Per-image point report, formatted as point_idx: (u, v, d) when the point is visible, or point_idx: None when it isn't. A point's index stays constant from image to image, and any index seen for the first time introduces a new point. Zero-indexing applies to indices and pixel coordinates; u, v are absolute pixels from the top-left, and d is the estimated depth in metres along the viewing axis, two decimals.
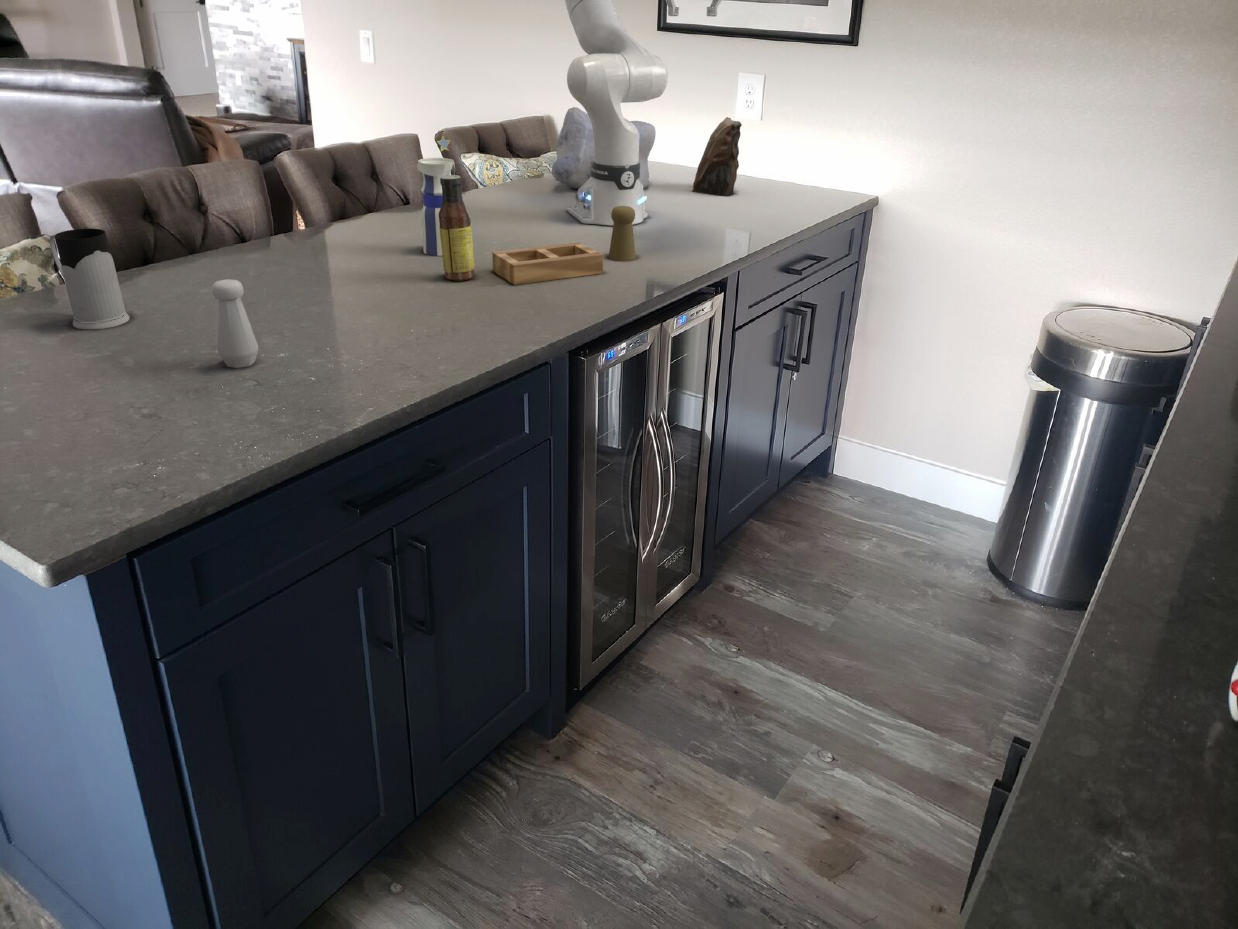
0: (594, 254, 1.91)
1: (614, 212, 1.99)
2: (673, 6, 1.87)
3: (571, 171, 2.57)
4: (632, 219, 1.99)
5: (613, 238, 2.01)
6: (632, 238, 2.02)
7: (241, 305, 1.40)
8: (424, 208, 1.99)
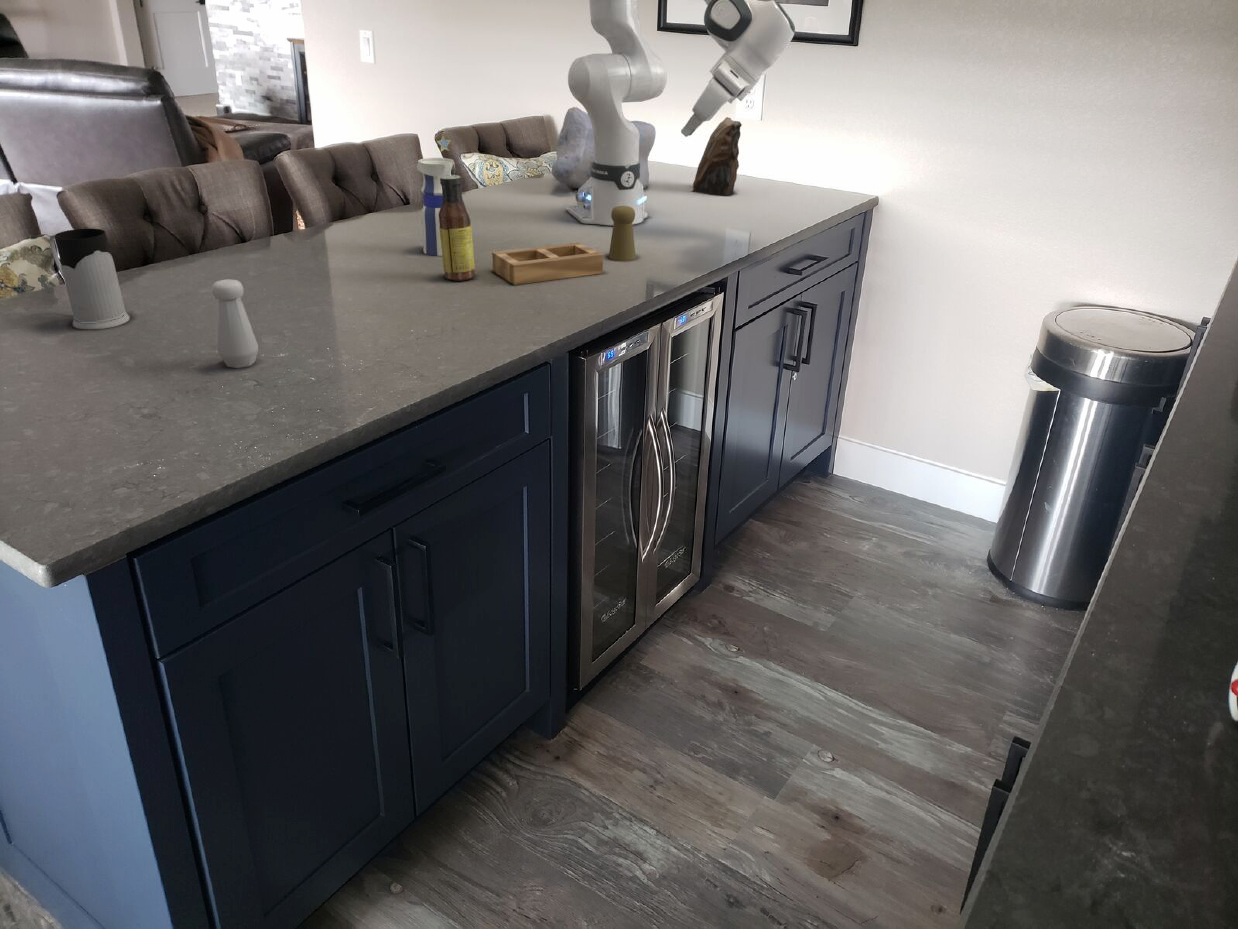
0: (594, 254, 1.91)
1: (614, 212, 1.99)
2: (692, 130, 1.88)
3: (571, 171, 2.57)
4: (632, 219, 1.99)
5: (613, 238, 2.01)
6: (632, 238, 2.02)
7: (241, 305, 1.40)
8: (424, 208, 1.99)
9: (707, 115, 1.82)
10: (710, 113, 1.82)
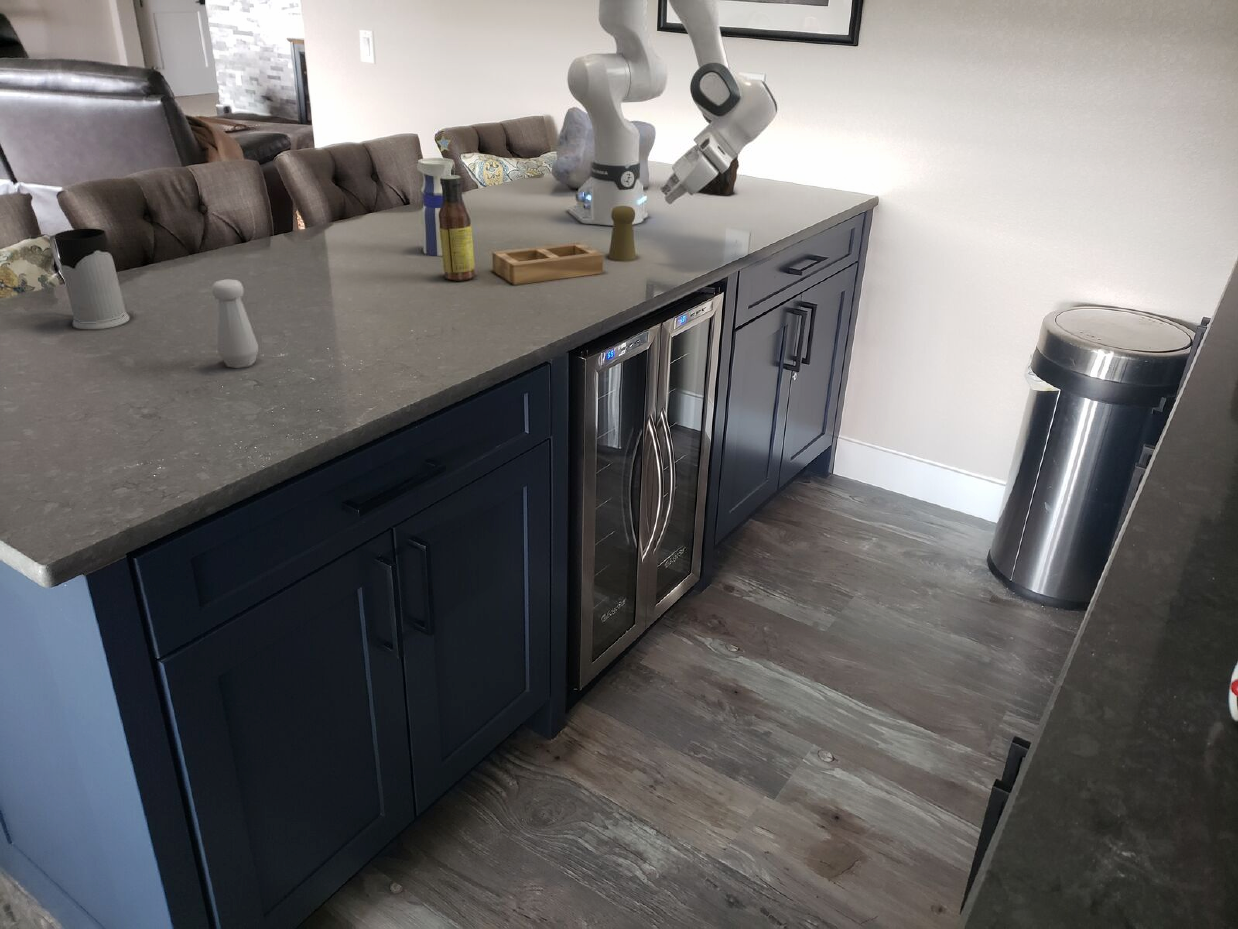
0: (594, 254, 1.91)
1: (614, 212, 1.99)
2: (676, 198, 1.94)
3: (571, 171, 2.57)
4: (632, 219, 1.99)
5: (613, 238, 2.01)
6: (632, 238, 2.02)
7: (241, 305, 1.40)
8: (424, 208, 1.99)
9: (695, 190, 1.89)
10: (698, 188, 1.89)
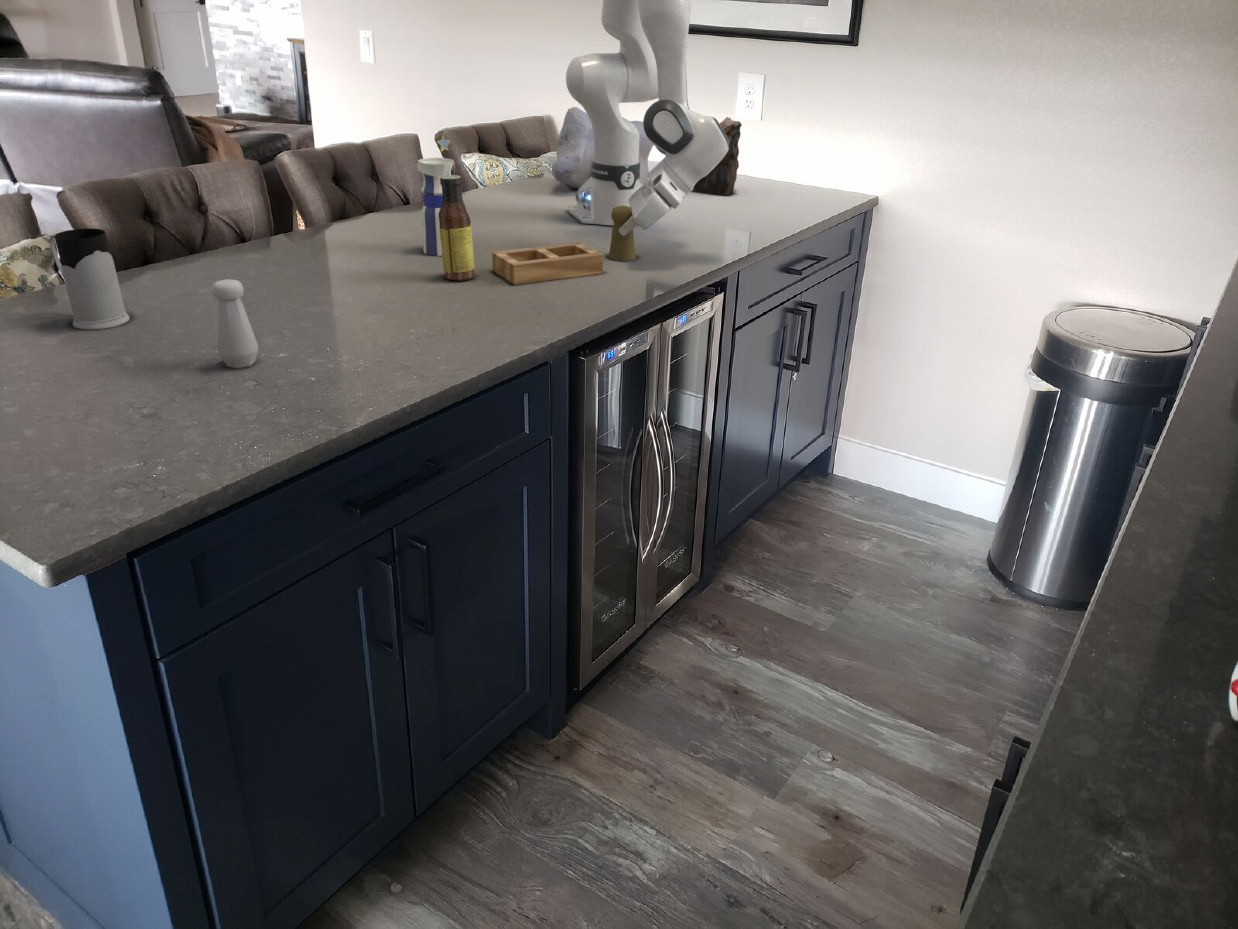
0: (594, 254, 1.91)
1: (614, 212, 1.99)
2: (629, 230, 1.99)
3: (571, 171, 2.57)
4: None
5: (613, 238, 2.01)
6: (632, 238, 2.02)
7: (241, 305, 1.40)
8: (424, 208, 1.99)
9: (648, 225, 1.92)
10: (650, 224, 1.92)
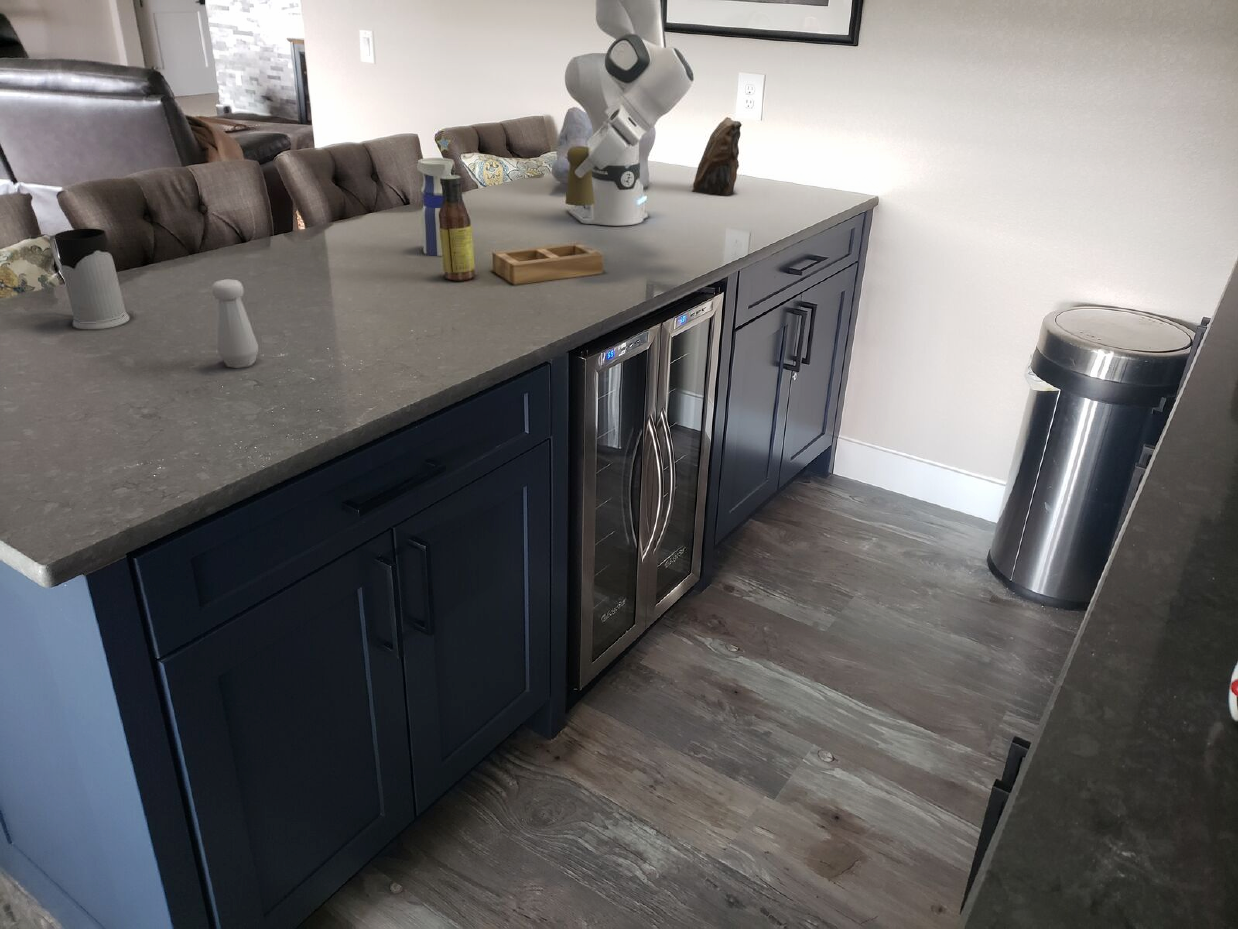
0: (594, 254, 1.91)
1: (570, 152, 1.85)
2: (586, 172, 1.85)
3: None
4: None
5: (569, 181, 1.87)
6: (590, 181, 1.88)
7: (241, 305, 1.40)
8: (424, 208, 1.99)
9: (604, 164, 1.78)
10: (607, 162, 1.77)
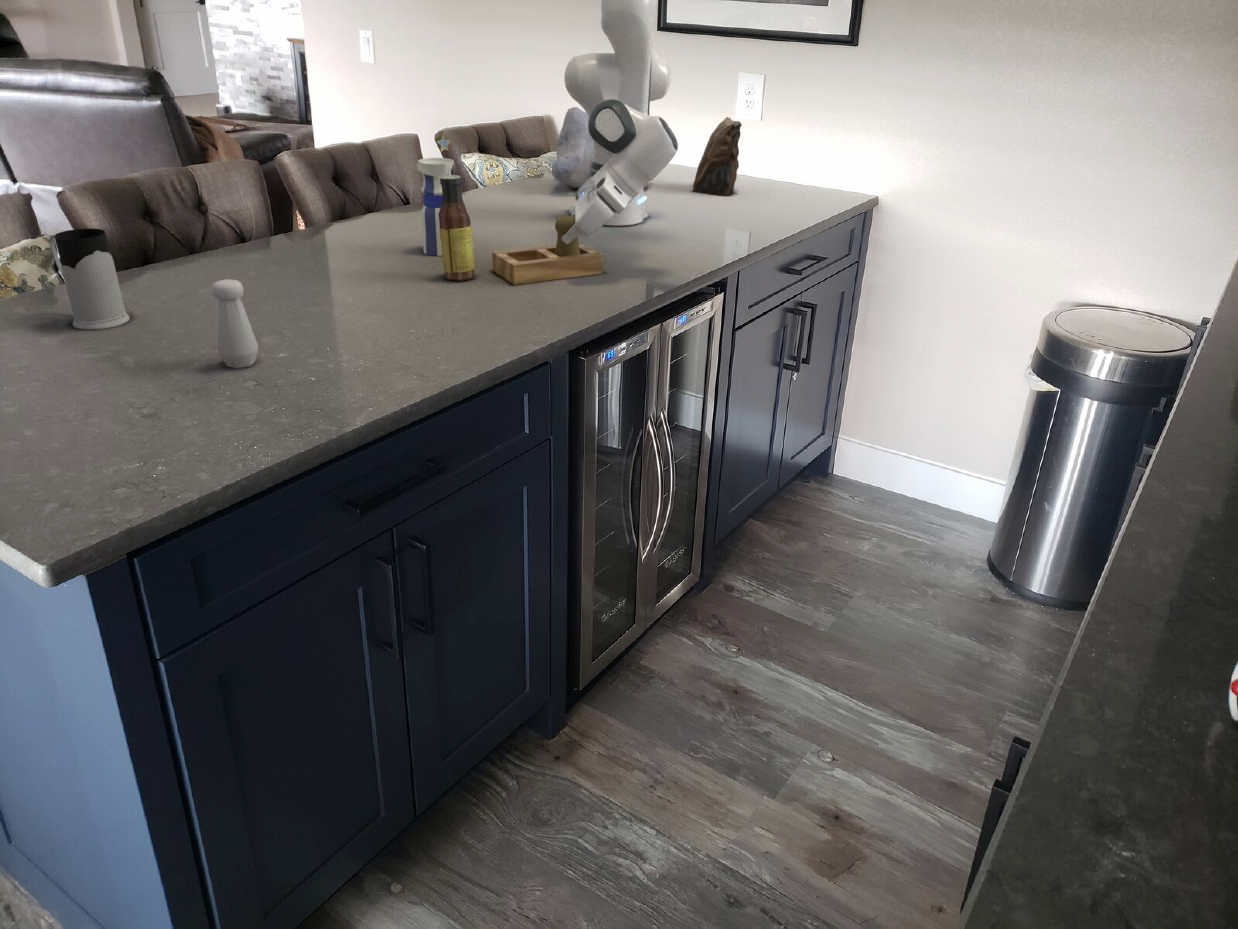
0: (594, 254, 1.91)
1: (558, 223, 1.89)
2: None
3: (571, 171, 2.57)
4: None
5: (557, 250, 1.91)
6: (578, 250, 1.92)
7: (241, 305, 1.40)
8: (424, 208, 1.99)
9: (590, 232, 1.81)
10: (593, 230, 1.81)
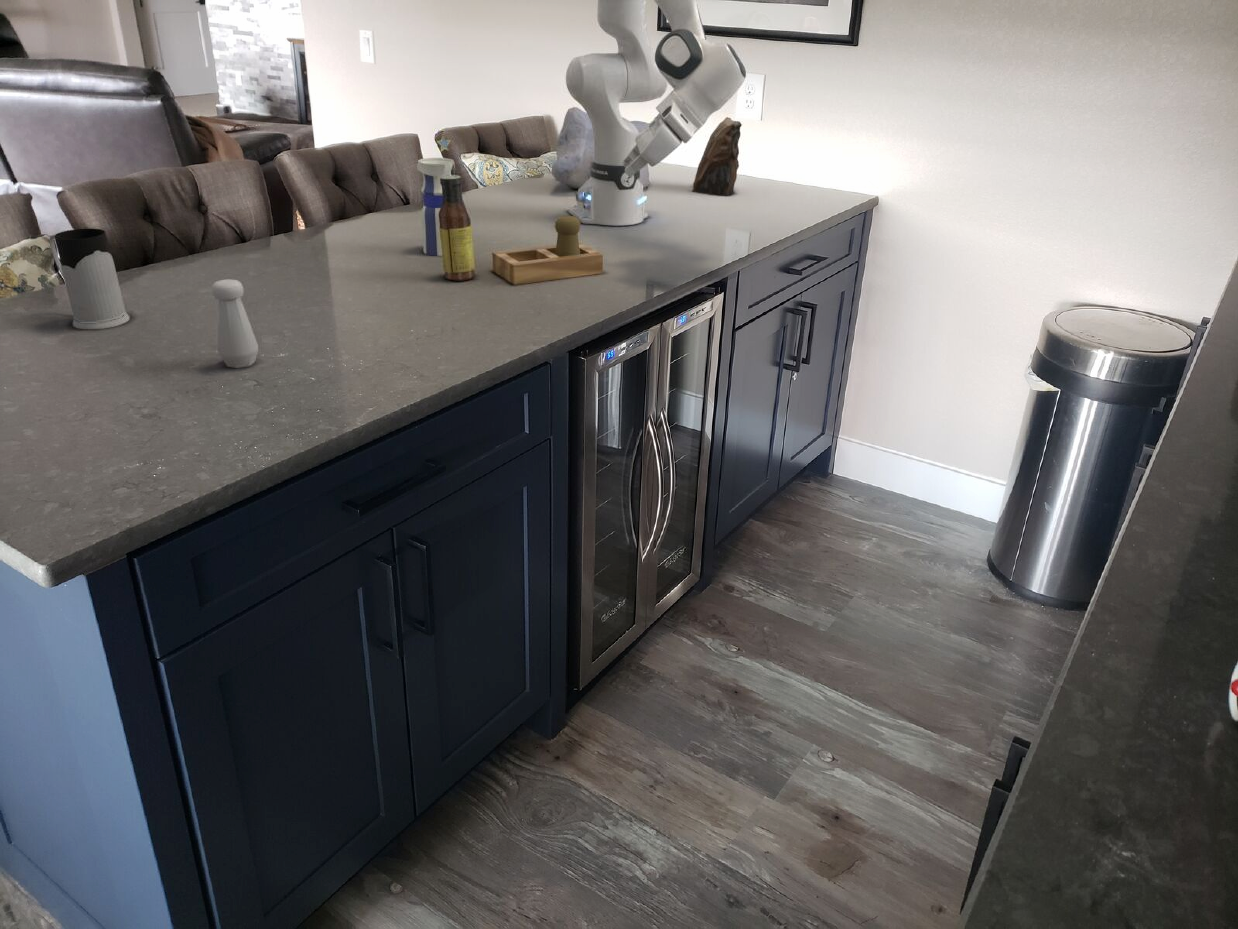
0: (594, 254, 1.91)
1: (558, 223, 1.89)
2: (636, 171, 1.81)
3: (571, 171, 2.57)
4: (577, 230, 1.90)
5: (557, 250, 1.91)
6: (578, 250, 1.92)
7: (241, 305, 1.40)
8: (424, 208, 1.99)
9: (656, 161, 1.76)
10: (659, 159, 1.76)
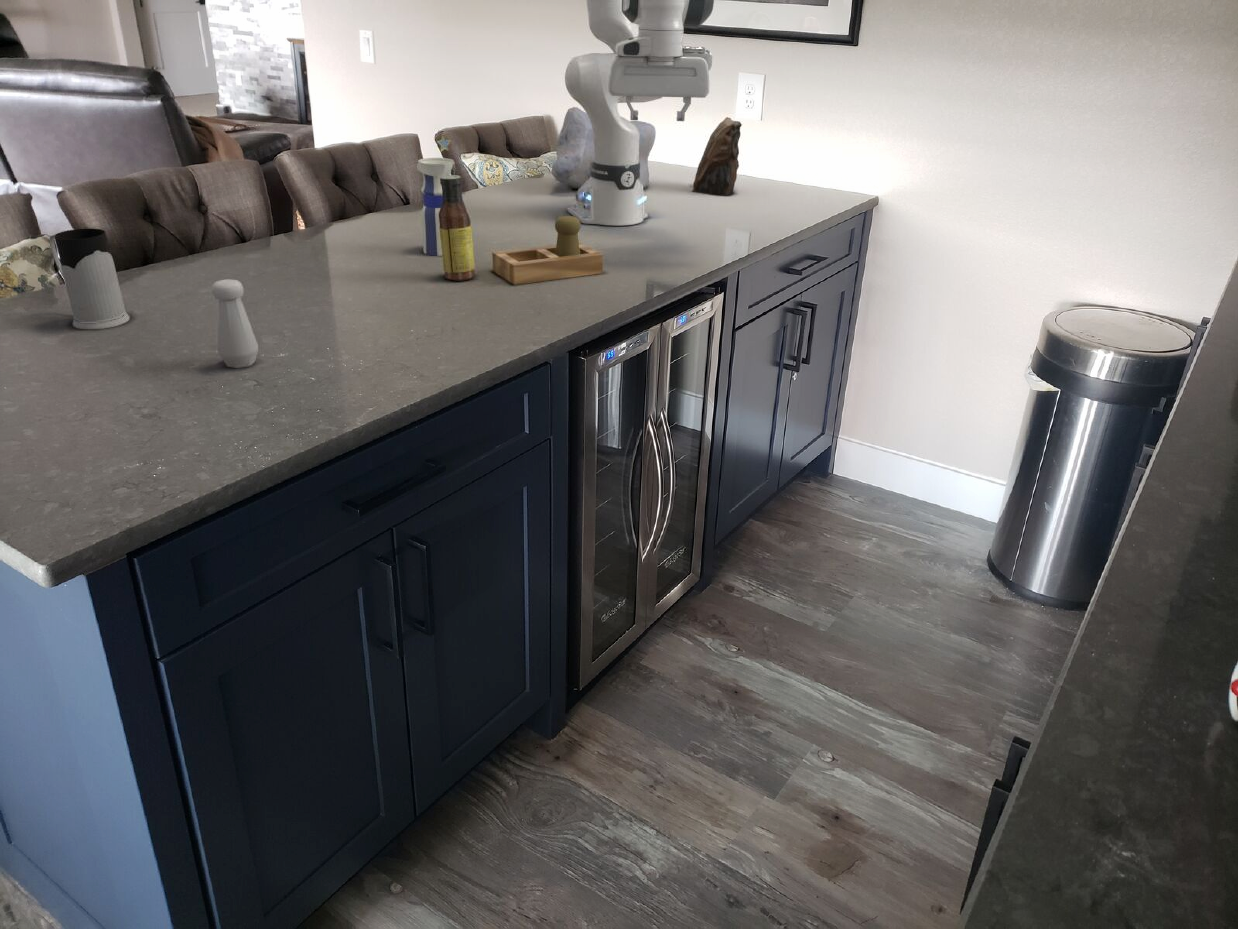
0: (594, 254, 1.91)
1: (558, 223, 1.89)
2: (631, 111, 1.86)
3: (571, 171, 2.57)
4: (577, 230, 1.90)
5: (557, 250, 1.91)
6: (578, 250, 1.92)
7: (241, 305, 1.40)
8: (424, 208, 1.99)
9: (608, 88, 1.84)
10: (609, 84, 1.83)
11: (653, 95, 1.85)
